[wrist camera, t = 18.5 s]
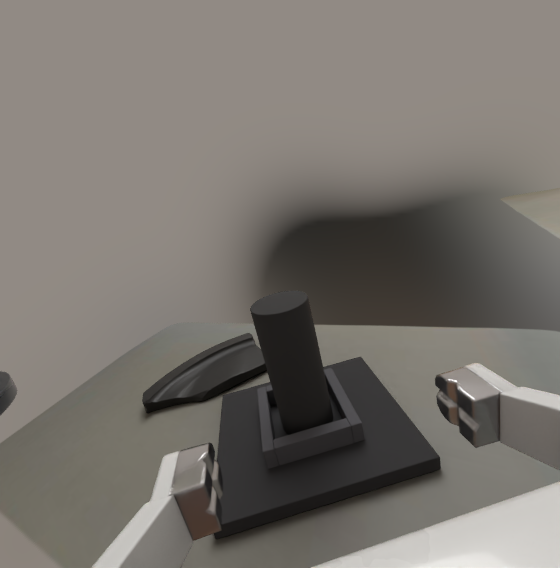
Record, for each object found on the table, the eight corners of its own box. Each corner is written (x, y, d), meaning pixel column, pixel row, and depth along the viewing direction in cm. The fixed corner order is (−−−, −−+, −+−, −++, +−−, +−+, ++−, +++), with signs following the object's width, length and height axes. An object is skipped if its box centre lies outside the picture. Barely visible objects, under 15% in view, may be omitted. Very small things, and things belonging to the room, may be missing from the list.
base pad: (215, 540, 17) (202, 509, 16) (225, 403, 28) (218, 382, 28) (441, 469, 18) (438, 437, 17) (362, 364, 29) (358, 343, 28)
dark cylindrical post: (290, 448, 20) (255, 320, 18) (277, 411, 24) (246, 301, 21) (342, 427, 21) (316, 301, 18) (321, 394, 25) (297, 286, 22)
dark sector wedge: (147, 384, 35) (142, 373, 35) (251, 342, 39) (248, 331, 39) (144, 428, 28) (138, 414, 27) (274, 369, 32) (270, 357, 31)
